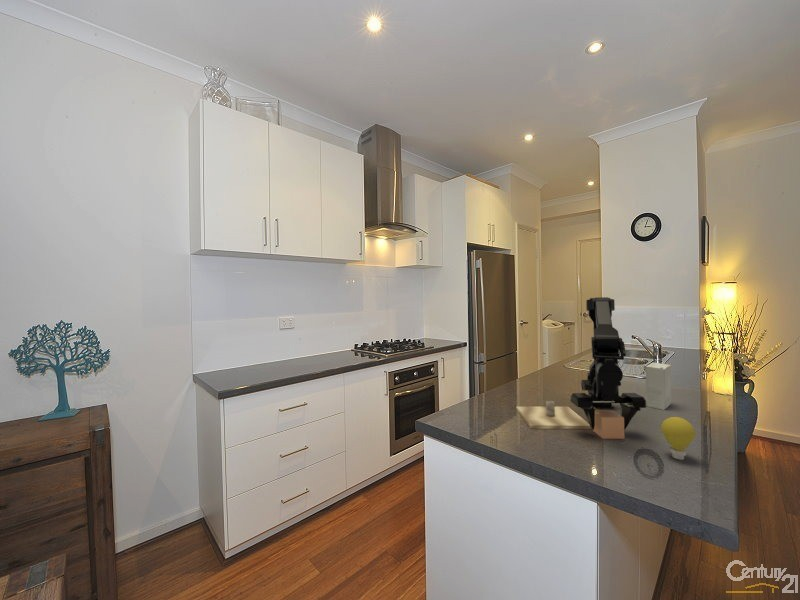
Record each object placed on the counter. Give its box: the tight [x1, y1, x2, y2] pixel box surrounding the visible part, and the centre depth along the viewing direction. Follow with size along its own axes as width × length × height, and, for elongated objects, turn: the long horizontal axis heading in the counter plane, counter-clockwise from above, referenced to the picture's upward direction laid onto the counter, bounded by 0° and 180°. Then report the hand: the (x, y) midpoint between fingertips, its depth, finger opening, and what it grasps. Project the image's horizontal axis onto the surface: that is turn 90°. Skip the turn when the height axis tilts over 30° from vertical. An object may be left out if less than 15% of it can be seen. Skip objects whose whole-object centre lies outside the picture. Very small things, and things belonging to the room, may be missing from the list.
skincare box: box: [645, 362, 672, 411], centre depth 125 cm, size 8×6×15 cm
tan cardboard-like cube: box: [592, 410, 625, 440], centre depth 102 cm, size 6×6×6 cm
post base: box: [515, 400, 592, 430], centre depth 116 cm, size 18×18×6 cm
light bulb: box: [660, 416, 696, 460], centre depth 87 cm, size 7×7×10 cm
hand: (607, 429), depth 102 cm, fingers open, 8 cm apart
